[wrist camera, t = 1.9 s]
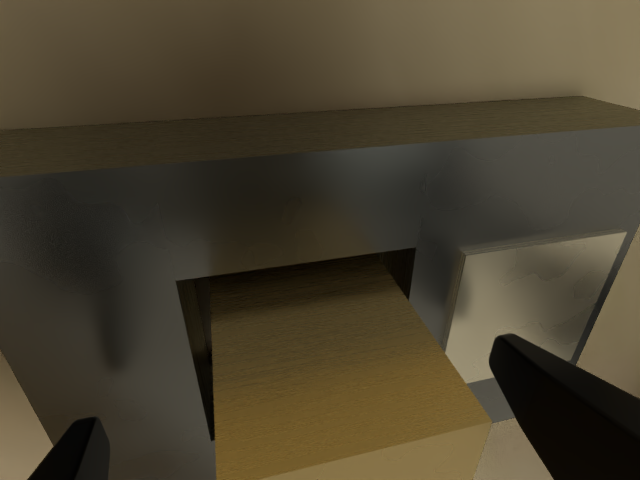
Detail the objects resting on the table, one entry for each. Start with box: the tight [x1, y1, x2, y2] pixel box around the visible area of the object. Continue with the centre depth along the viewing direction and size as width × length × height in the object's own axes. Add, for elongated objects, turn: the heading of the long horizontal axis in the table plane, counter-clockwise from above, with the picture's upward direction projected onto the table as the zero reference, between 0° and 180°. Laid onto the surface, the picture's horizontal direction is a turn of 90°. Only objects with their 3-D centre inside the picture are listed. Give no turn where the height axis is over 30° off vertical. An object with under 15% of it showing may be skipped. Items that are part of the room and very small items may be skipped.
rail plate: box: [0, 96, 640, 480], centre depth 11 cm, size 15×10×3 cm, turn 89°
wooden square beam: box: [210, 253, 492, 480], centre depth 10 cm, size 4×4×7 cm
